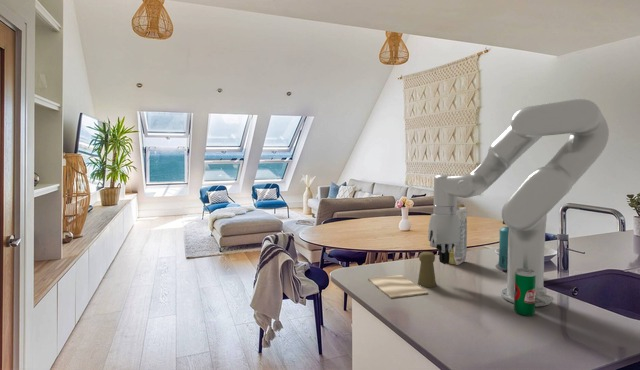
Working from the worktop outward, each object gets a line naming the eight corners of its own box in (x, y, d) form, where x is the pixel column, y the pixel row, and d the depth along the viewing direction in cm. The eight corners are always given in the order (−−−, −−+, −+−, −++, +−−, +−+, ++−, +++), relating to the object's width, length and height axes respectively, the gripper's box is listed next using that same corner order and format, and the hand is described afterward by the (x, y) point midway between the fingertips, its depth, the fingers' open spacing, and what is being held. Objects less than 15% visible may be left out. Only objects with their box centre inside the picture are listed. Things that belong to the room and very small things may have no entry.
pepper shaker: (437, 287, 118) (437, 255, 117) (418, 286, 119) (418, 254, 118) (435, 281, 124) (435, 250, 123) (417, 280, 125) (417, 250, 124)
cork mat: (427, 293, 112) (428, 292, 112) (390, 298, 109) (390, 296, 109) (401, 276, 130) (401, 274, 130) (368, 279, 126) (368, 278, 126)
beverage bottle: (499, 272, 132) (500, 219, 131) (497, 267, 139) (498, 216, 137) (518, 274, 130) (520, 220, 129) (516, 268, 136) (517, 217, 135)
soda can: (527, 318, 94) (528, 274, 93) (509, 311, 98) (510, 269, 98) (539, 314, 96) (540, 271, 96) (521, 307, 101) (522, 266, 100)
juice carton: (449, 257, 153) (450, 202, 151) (468, 261, 147) (468, 204, 146) (440, 262, 146) (440, 205, 145) (459, 266, 141) (459, 206, 139)
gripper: (457, 208, 127) (456, 258, 128) (419, 210, 123) (419, 261, 124) (471, 211, 119) (469, 264, 121) (431, 213, 116) (430, 267, 117)
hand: (444, 262), depth 123 cm, fingers closed
